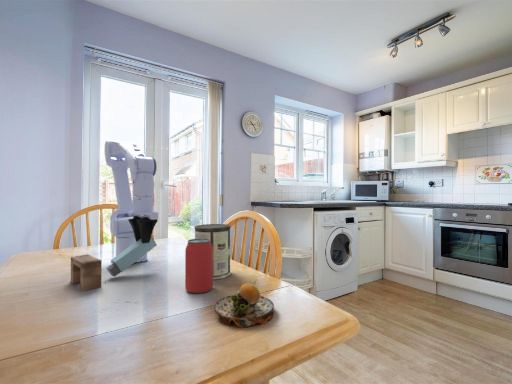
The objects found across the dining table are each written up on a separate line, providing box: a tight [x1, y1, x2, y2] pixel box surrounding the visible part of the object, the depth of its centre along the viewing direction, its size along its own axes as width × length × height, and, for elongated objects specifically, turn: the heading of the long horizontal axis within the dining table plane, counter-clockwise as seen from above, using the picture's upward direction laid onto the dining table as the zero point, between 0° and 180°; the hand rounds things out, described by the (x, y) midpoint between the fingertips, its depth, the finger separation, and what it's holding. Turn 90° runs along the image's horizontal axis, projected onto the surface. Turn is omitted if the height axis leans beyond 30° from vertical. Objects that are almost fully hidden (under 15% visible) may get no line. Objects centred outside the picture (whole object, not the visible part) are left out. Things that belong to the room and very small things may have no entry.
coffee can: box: [194, 223, 231, 281], centre depth 77 cm, size 10×10×14 cm
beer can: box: [184, 238, 214, 294], centre depth 65 cm, size 7×7×12 cm
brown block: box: [70, 254, 103, 292], centre depth 68 cm, size 4×10×7 cm, turn 49°
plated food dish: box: [214, 280, 275, 329], centre depth 52 cm, size 12×12×8 cm
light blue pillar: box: [106, 235, 158, 278], centre depth 77 cm, size 14×3×4 cm, turn 139°
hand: (142, 242), depth 80 cm, fingers closed on light blue pillar, 3 cm apart
